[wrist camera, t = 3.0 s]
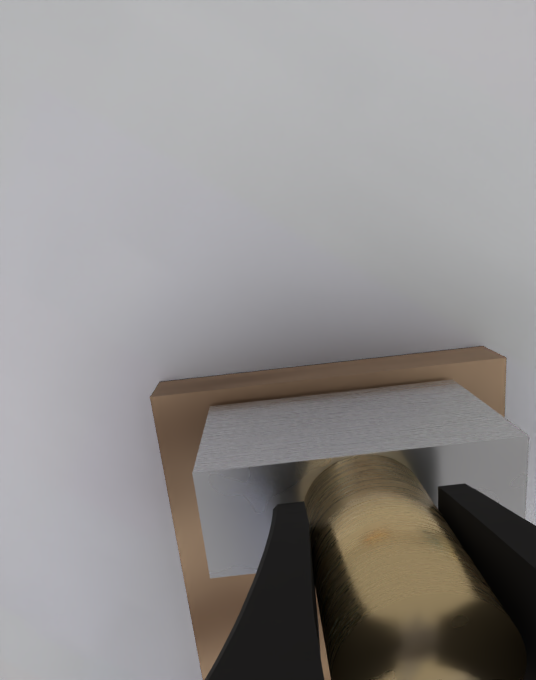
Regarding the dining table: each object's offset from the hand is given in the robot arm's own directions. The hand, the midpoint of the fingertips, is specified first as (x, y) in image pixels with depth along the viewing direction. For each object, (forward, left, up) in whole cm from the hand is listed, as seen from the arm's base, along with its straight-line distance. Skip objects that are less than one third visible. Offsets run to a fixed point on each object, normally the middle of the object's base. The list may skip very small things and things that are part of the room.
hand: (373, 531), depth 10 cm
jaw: (0, 0, -5) cm, 5 cm away
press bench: (-8, 0, -7) cm, 11 cm away
